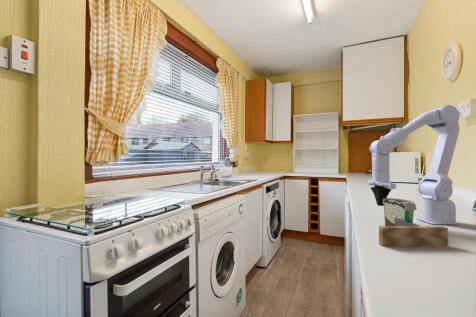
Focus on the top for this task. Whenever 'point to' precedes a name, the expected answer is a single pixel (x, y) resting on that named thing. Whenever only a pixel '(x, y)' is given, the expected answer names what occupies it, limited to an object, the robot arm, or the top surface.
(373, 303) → the top surface
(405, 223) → the bookend
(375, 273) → the top surface
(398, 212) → the food container
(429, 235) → the shelf panel
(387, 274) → the top surface
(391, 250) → the top surface
